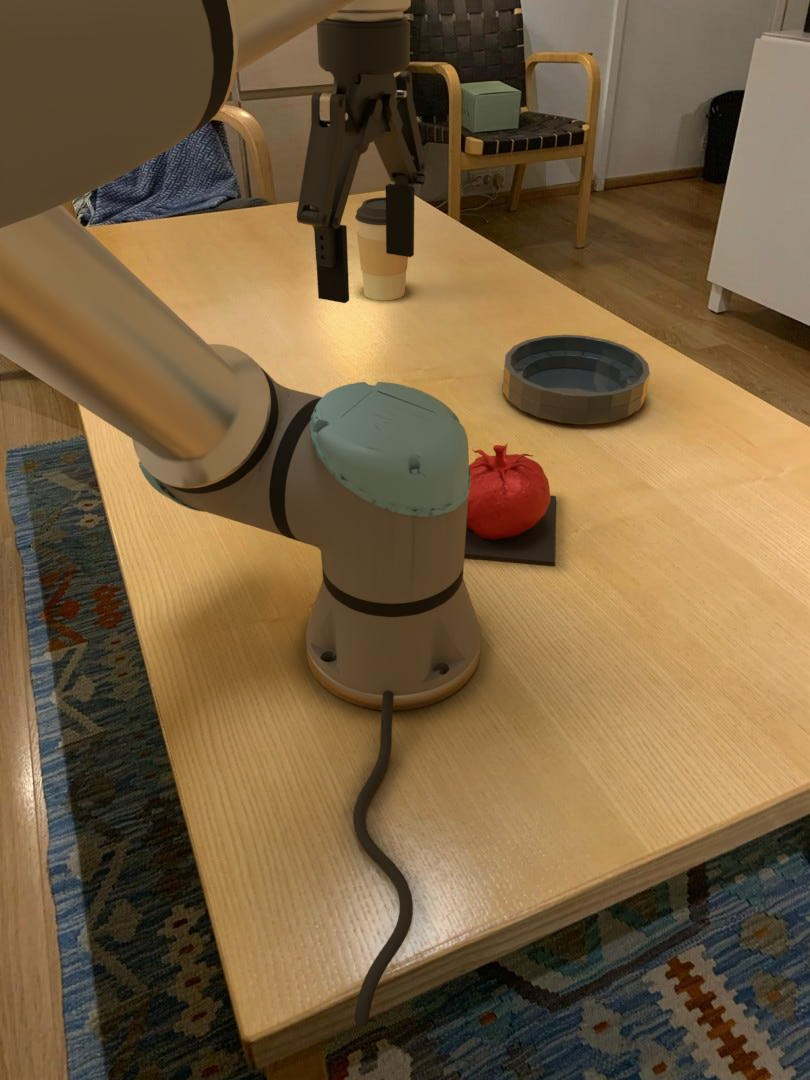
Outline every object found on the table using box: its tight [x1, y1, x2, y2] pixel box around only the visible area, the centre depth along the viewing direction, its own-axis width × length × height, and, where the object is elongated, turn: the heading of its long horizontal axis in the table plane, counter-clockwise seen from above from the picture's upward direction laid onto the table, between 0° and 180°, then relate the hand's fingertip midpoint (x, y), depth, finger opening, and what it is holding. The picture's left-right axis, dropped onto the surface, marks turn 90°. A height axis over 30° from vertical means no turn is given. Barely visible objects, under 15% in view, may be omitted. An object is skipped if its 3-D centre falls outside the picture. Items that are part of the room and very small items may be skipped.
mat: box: [464, 495, 557, 566], centre depth 92 cm, size 12×12×1 cm
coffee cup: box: [354, 196, 409, 301], centre depth 142 cm, size 9×9×15 cm
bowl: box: [502, 334, 651, 425], centre depth 116 cm, size 19×19×4 cm
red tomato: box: [466, 442, 551, 540], centre depth 89 cm, size 10×10×9 cm
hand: (368, 276), depth 83 cm, fingers open, 13 cm apart
